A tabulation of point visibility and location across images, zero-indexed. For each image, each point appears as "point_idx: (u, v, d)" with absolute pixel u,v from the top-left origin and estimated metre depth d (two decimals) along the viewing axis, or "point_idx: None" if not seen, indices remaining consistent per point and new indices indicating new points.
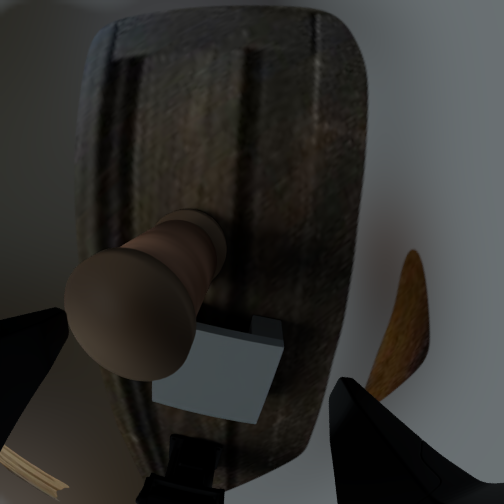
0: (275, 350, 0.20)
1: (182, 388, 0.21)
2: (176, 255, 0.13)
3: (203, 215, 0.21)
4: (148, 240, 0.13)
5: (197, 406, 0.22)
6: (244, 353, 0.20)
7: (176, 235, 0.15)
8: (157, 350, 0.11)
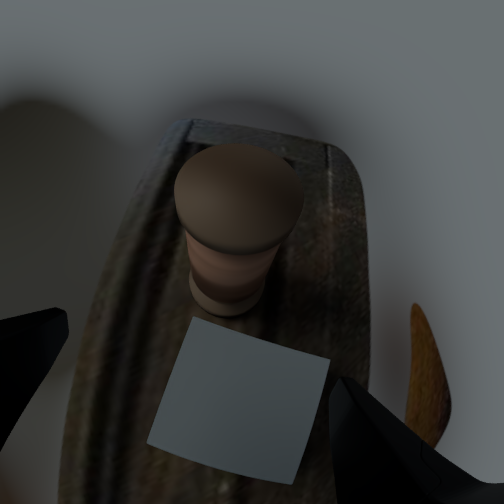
0: (321, 363, 0.18)
1: (200, 421, 0.15)
2: None
3: None
4: None
5: (214, 454, 0.14)
6: (288, 366, 0.17)
7: None
8: (270, 209, 0.13)
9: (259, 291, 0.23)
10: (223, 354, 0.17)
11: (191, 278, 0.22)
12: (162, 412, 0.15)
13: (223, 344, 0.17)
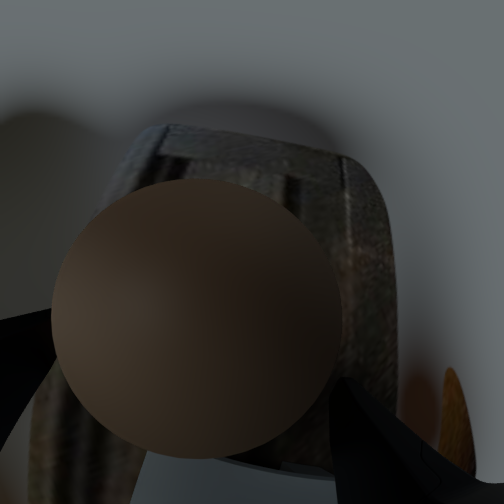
0: (335, 487, 0.10)
1: None
2: None
3: None
4: None
5: None
6: (289, 497, 0.09)
7: None
8: (263, 365, 0.05)
9: None
10: (197, 486, 0.09)
11: None
12: None
13: (197, 475, 0.10)
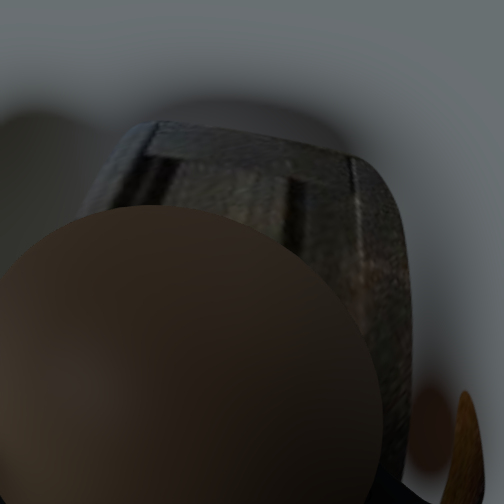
0: None
1: None
2: None
3: None
4: None
5: None
6: None
7: None
8: None
9: None
10: None
11: None
12: None
13: None
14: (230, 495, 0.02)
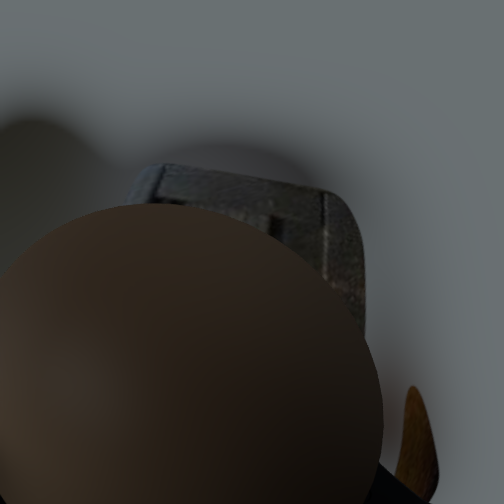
0: None
1: None
2: None
3: None
4: None
5: None
6: None
7: None
8: None
9: None
10: None
11: None
12: None
13: None
14: (230, 493, 0.02)
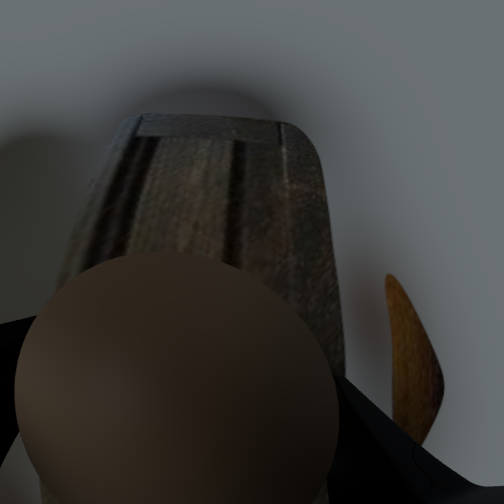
0: None
1: None
2: None
3: None
4: None
5: None
6: None
7: None
8: (243, 487, 0.03)
9: None
10: None
11: None
12: None
13: None
14: (224, 466, 0.04)
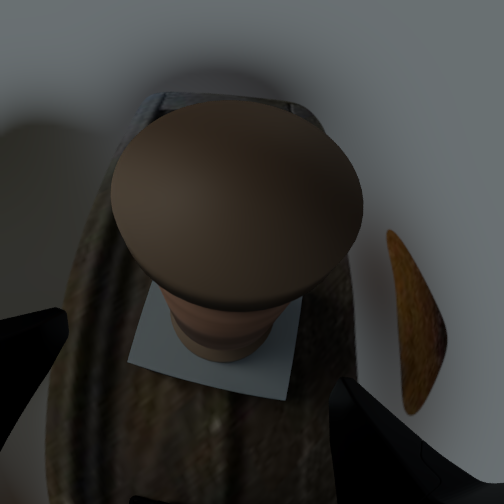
0: None
1: None
2: None
3: None
4: None
5: (197, 367, 0.15)
6: None
7: None
8: (302, 217, 0.06)
9: (267, 328, 0.16)
10: None
11: None
12: (142, 325, 0.16)
13: None
14: (288, 200, 0.06)
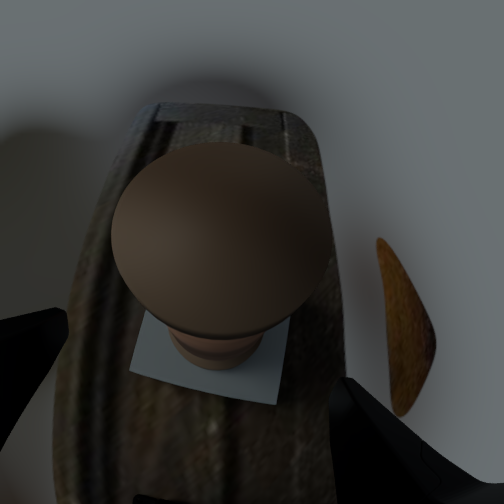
0: None
1: None
2: None
3: None
4: None
5: (194, 374, 0.16)
6: None
7: None
8: (275, 261, 0.07)
9: None
10: None
11: None
12: (142, 337, 0.17)
13: None
14: (263, 246, 0.07)
